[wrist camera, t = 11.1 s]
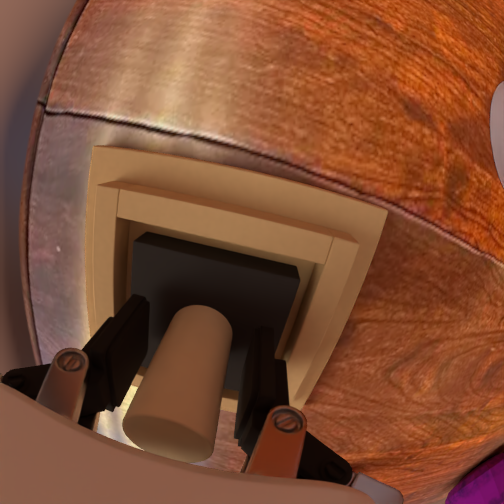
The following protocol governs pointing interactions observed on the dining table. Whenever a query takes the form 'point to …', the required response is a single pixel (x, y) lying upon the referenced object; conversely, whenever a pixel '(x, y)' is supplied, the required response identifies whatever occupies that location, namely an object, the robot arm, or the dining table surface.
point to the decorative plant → (481, 484)
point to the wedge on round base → (498, 129)
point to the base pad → (232, 242)
